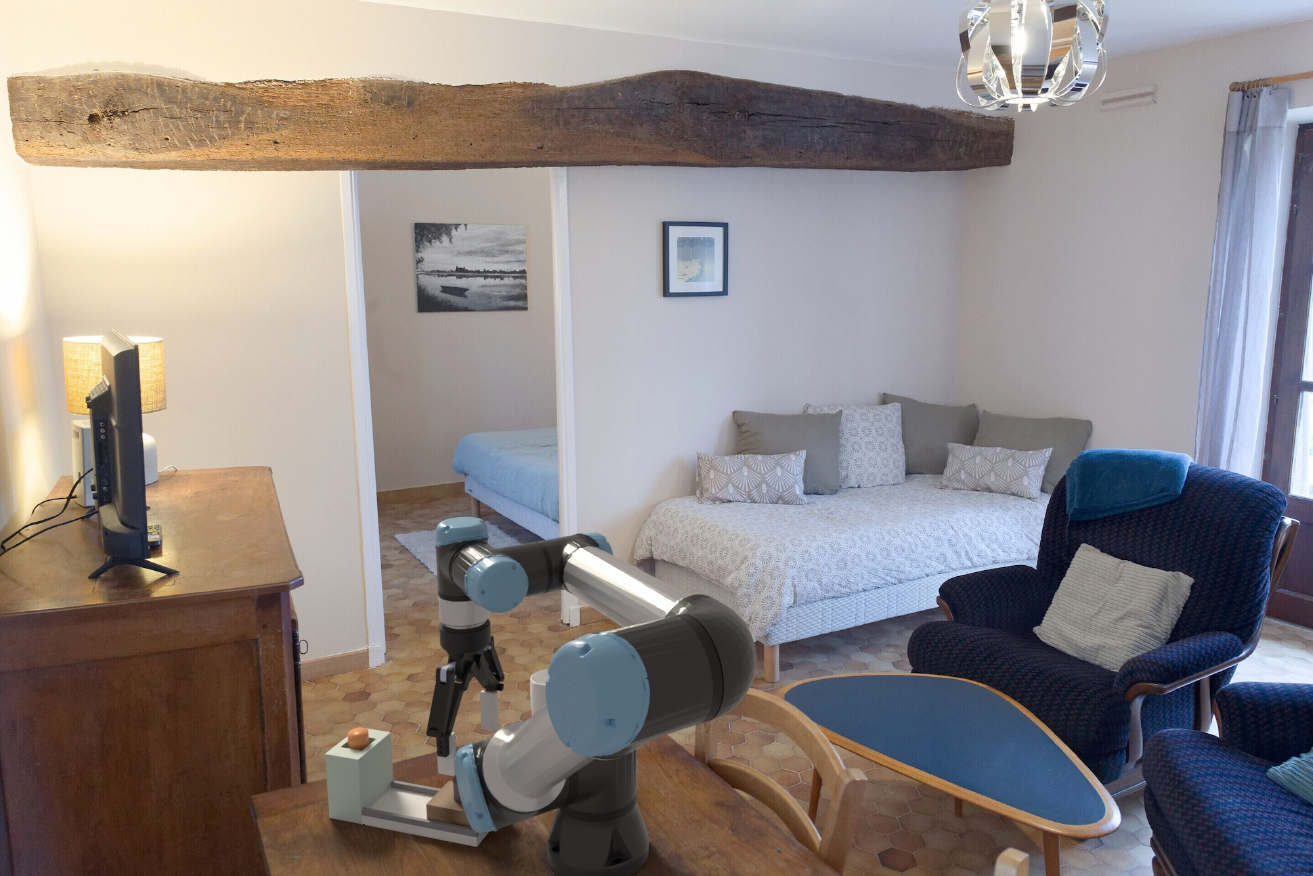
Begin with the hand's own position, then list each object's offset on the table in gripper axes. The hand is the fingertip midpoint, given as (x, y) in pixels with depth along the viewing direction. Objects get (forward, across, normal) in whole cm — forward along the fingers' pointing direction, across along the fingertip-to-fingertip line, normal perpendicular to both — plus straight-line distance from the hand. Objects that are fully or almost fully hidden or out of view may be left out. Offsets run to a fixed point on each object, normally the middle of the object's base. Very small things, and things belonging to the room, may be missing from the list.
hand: (469, 750), depth 142 cm
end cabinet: (+13, 0, -20) cm, 23 cm away
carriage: (+11, 0, -1) cm, 11 cm away
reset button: (+2, 0, -20) cm, 20 cm away
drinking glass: (+13, -23, +3) cm, 27 cm away
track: (+13, 0, -7) cm, 14 cm away
